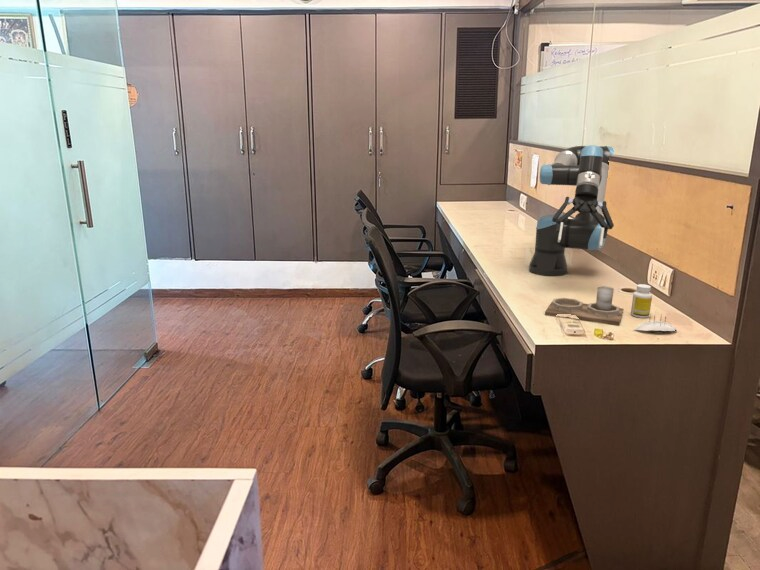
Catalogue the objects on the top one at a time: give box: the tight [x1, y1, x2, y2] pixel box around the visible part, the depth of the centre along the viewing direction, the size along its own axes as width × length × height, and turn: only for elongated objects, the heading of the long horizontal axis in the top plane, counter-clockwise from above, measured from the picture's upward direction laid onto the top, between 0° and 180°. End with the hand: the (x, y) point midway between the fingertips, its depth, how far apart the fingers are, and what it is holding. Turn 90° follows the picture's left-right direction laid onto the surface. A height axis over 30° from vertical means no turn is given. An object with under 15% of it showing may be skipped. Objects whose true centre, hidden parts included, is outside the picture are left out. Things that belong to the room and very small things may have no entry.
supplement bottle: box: [630, 283, 653, 319], centre depth 177 cm, size 5×5×10 cm
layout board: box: [544, 285, 624, 327], centre depth 178 cm, size 14×22×9 cm, turn 63°
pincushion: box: [633, 313, 678, 333], centre depth 164 cm, size 12×6×6 cm, turn 87°
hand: (579, 243), depth 193 cm, fingers open, 13 cm apart
